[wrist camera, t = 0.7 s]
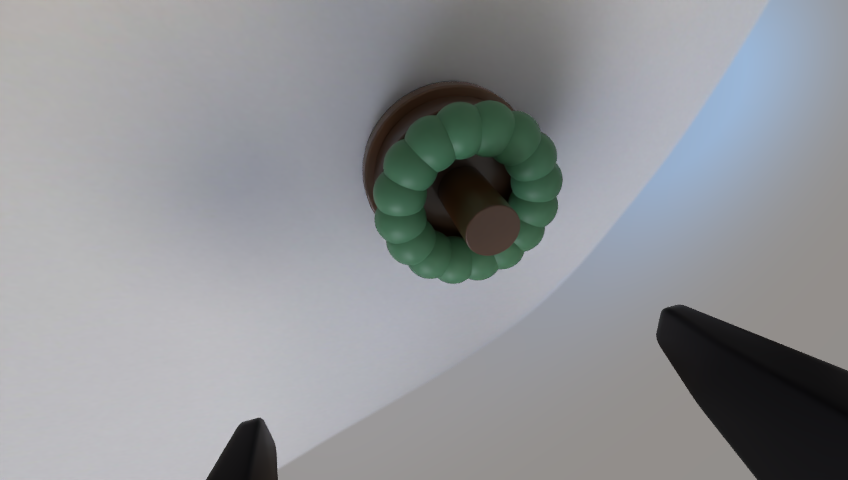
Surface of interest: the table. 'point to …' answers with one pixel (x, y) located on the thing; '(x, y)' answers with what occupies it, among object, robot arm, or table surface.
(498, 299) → the table surface
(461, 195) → the stand
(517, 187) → the ring
